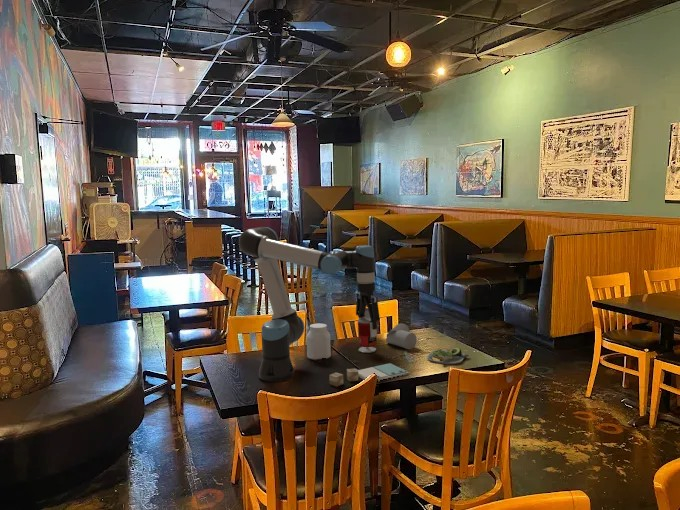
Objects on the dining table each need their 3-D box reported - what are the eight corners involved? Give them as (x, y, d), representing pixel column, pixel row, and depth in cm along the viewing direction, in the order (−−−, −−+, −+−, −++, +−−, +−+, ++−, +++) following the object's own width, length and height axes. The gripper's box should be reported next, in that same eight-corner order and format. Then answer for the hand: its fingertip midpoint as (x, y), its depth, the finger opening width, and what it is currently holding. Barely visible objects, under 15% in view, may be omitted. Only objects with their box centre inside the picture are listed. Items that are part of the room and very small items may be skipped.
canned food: (371, 348, 213) (370, 322, 212) (355, 346, 218) (354, 320, 216) (380, 343, 220) (379, 318, 218) (364, 341, 224) (363, 317, 223)
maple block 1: (336, 386, 206) (336, 377, 205) (329, 384, 209) (329, 374, 208) (343, 384, 209) (343, 374, 208) (336, 381, 211) (336, 372, 211)
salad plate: (460, 369, 224) (460, 359, 224) (421, 364, 232) (421, 354, 232) (470, 357, 241) (470, 347, 241) (433, 352, 250) (433, 343, 249)
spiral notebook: (370, 383, 209) (370, 380, 208) (352, 373, 221) (352, 370, 220) (408, 374, 219) (408, 371, 218) (389, 364, 231) (389, 362, 230)
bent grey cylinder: (374, 340, 265) (401, 349, 250) (377, 320, 265) (404, 328, 250) (398, 341, 276) (425, 350, 261) (401, 322, 276) (428, 329, 261)
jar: (308, 360, 239) (308, 329, 237) (305, 353, 248) (304, 324, 246) (332, 357, 242) (332, 327, 240) (328, 351, 251) (327, 322, 249)
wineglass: (379, 349, 253) (379, 308, 251) (370, 354, 246) (370, 312, 243) (364, 347, 258) (363, 306, 255) (355, 351, 251) (354, 310, 248)
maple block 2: (349, 381, 211) (348, 372, 211) (346, 378, 215) (346, 369, 215) (358, 380, 212) (358, 371, 212) (355, 377, 216) (355, 368, 215)
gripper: (387, 284, 208) (389, 338, 211) (360, 278, 227) (362, 328, 229) (371, 286, 205) (374, 341, 207) (346, 280, 223) (348, 330, 226)
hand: (368, 334), depth 218 cm, fingers closed on canned food, 8 cm apart
